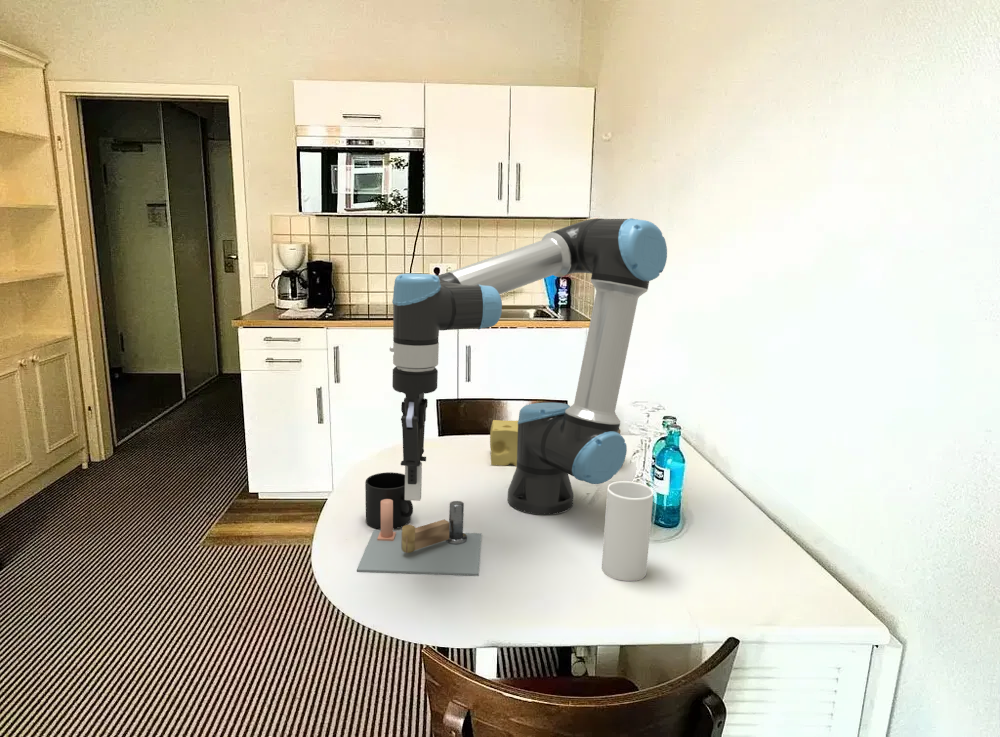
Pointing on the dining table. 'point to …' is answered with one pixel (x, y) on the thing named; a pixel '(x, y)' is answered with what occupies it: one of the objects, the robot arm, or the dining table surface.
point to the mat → (422, 557)
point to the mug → (391, 489)
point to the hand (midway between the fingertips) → (412, 498)
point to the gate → (424, 535)
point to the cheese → (504, 442)
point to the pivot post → (456, 523)
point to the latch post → (386, 521)
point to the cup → (627, 530)
